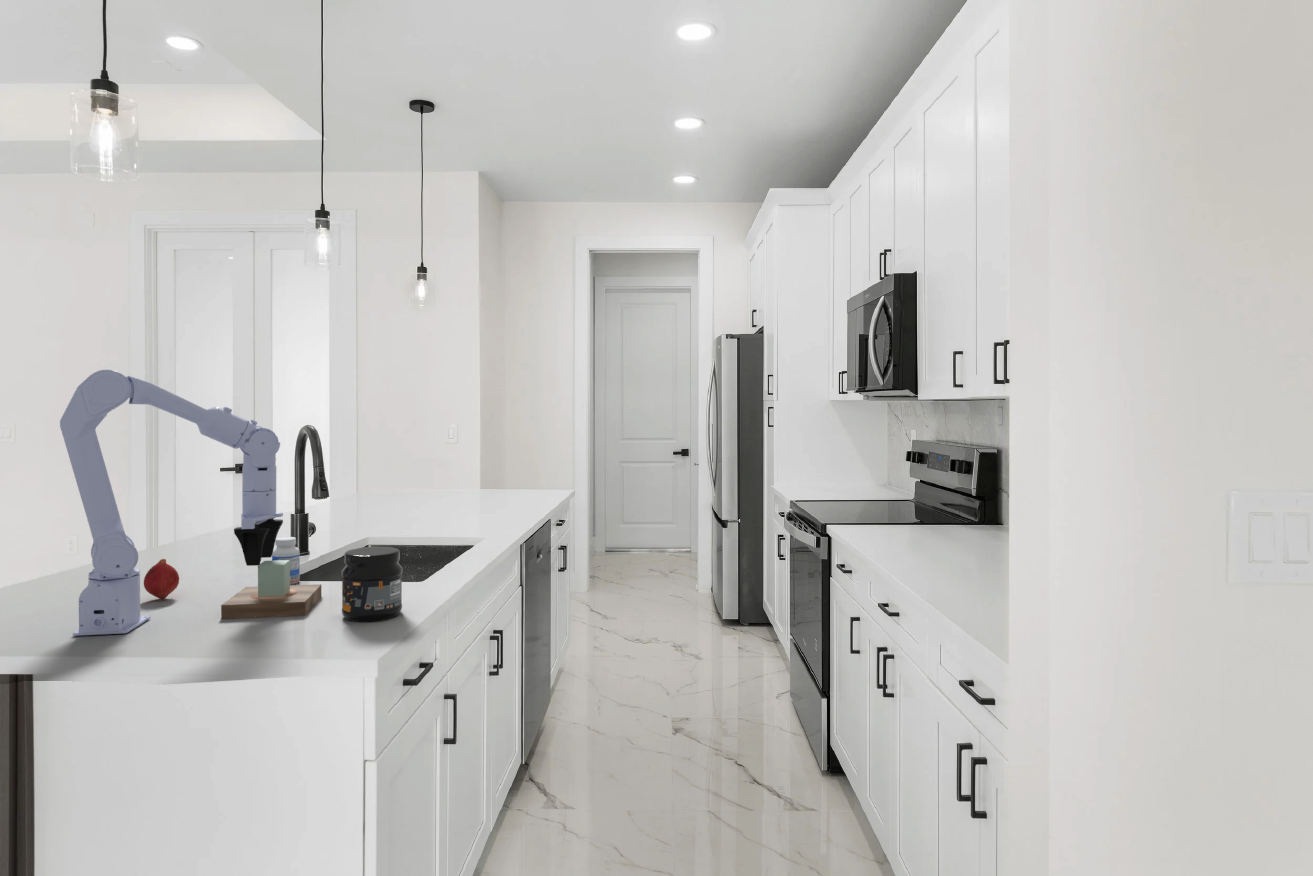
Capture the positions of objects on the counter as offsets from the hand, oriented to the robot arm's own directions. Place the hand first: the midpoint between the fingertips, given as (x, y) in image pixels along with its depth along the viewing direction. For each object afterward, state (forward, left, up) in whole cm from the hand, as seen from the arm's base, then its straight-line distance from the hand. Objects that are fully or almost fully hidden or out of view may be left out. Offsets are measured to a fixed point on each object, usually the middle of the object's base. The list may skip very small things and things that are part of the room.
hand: (259, 561), depth 143 cm
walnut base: (-1, -3, -9) cm, 9 cm away
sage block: (-1, -3, -6) cm, 7 cm away
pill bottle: (+20, 0, -9) cm, 22 cm away
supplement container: (-10, -22, -9) cm, 25 cm away
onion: (+9, +20, -9) cm, 24 cm away
